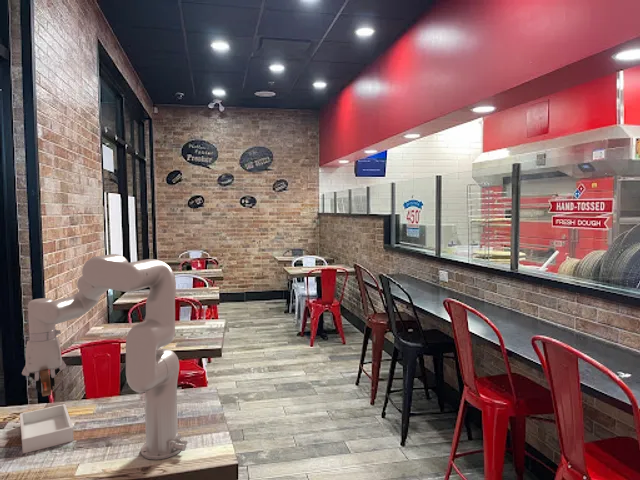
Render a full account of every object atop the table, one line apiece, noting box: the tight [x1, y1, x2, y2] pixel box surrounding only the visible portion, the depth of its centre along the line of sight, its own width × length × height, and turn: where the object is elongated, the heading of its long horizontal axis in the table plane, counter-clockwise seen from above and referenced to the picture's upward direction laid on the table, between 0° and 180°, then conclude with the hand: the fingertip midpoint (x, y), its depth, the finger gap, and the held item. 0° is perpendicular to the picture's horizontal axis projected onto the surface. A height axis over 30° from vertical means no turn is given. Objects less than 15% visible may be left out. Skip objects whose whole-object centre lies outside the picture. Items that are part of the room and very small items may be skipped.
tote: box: [19, 403, 75, 454], centre depth 157 cm, size 22×14×4 cm, turn 34°
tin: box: [39, 369, 52, 397], centre depth 156 cm, size 15×3×8 cm, turn 34°
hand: (45, 389), depth 156 cm, fingers closed on tin, 2 cm apart
